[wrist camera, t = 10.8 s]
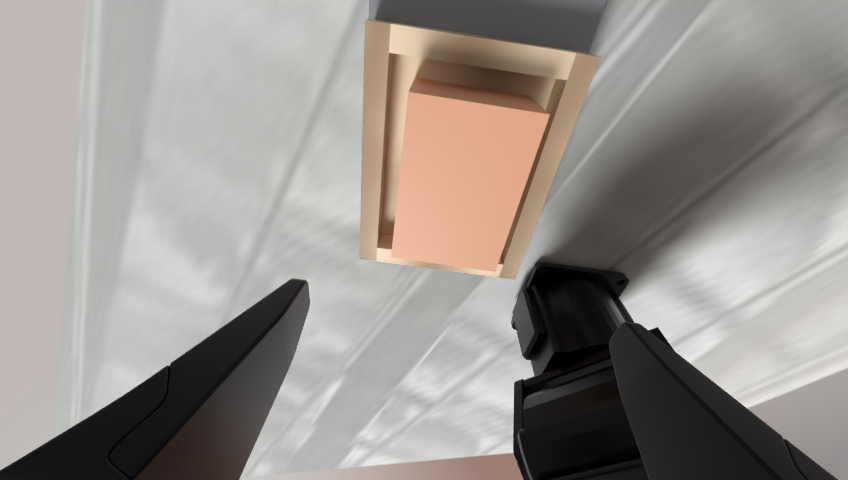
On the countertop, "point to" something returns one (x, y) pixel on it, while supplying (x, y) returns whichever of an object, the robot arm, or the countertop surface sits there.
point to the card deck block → (463, 172)
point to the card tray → (471, 66)
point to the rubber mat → (502, 19)
